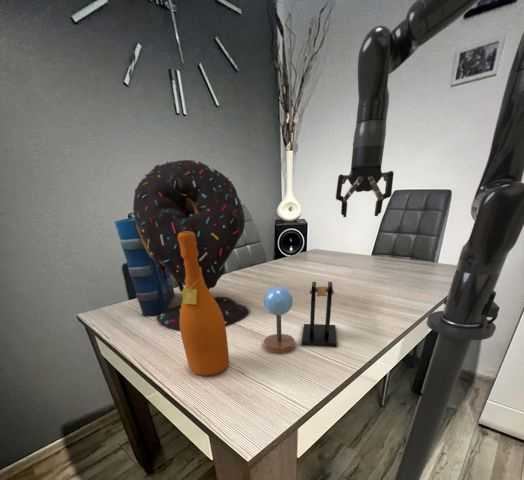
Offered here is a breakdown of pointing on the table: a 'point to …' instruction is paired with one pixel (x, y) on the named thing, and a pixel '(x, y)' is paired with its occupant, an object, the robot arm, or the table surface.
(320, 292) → the yellow switch lever
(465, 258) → the robot arm
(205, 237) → the dark brown sprinkled donut
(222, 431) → the table surface
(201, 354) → the wine bottle
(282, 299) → the blue lamp
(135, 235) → the book
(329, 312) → the stand
